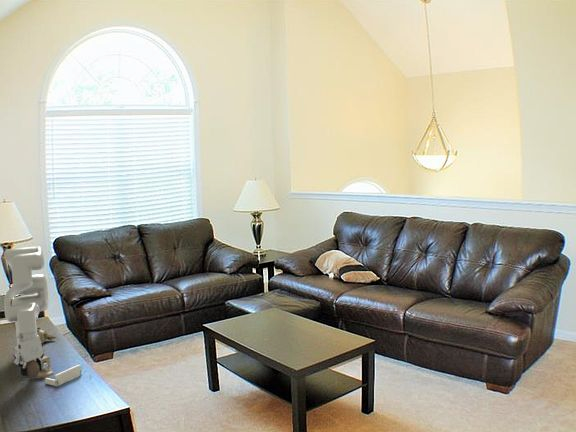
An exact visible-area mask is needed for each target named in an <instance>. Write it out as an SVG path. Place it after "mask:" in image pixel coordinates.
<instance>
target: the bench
mask: <svg viewBox="0 0 576 432" xmlns="http://www.w3.org/2000/svg"><path fill="white" fill-rule="evenodd" d="M34 360H35V361H36V359H34ZM41 363H48V364H49V369H48V371H46V372H44V371H42V370H40V371H39V374H38V376H37V377H36V378H35V379H37V378H41V379H45V378H47V377H48V376H51V375H53V374H54V371H51V370H52V369H51V361H50V356H45V355H44V356H43V358H42V361H41Z"/></svg>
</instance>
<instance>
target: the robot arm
mask: <svg viewBox="0 0 576 432" xmlns="http://www.w3.org/2000/svg"><path fill="white" fill-rule="evenodd" d="M3 254H4V255H3V256H4V260H5V262H6V263H7V264H8V266H9V268H10V271H11V278H12V286H10V288H9V289H8V291H7V292H6V294H5V296H4V301H3V304H4V305H3V307H4V316H5V317H4V318H5V319H6V321H7V322H9V323H15V332H16V342H17V345H16V346H15V347H14V350H16V351H17V352H16V353H14V356H15V360H13V364H15V365H16V366H17V367H18V368H20V375H21V376H23V377H25V376H27V368H25V366H26V363H27V362H29V361H32V360H36V362H37V363H38V365H39V368H40V370H41V363H42V362H41V361H42V358H43V357H44V356H45V353H46V349H44V348H43V343H42V344H41V340H40V337H39V335H37V328H38V327H37V318H38V316H39V314H40V312H45V311H47V310H48V309H49V303H50V302H49V300H50V299H49V291H48V290H49V289H48V280H47V278H46V276H45V274H43V273H37V274H32V271H39V270H43V269H44V267H45V256H44V251H43V249H42V247H40V246H28V247H27V246H26V247H25V246H24V247H15V248H8V249H6V250H5V251H4V253H3ZM18 295H19V296H18ZM23 362H24V363H23ZM22 364H23V365H22Z"/></svg>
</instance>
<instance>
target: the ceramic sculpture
mask: <svg viewBox="0 0 576 432" xmlns="http://www.w3.org/2000/svg"><path fill="white" fill-rule="evenodd" d="M37 335H39V337H40V340H41V344H42V345H43V344H44V342H46V341H47V340H48V341H51V340H54V339H57V336H54V335H53V334H51V333H48V331H47V330H45V329H42V328H41V327H37Z"/></svg>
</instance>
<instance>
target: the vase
mask: <svg viewBox="0 0 576 432" xmlns="http://www.w3.org/2000/svg"><path fill="white" fill-rule="evenodd" d="M35 360H36V359H34V360H32V361H29V362H27V363H26V366H25V368H27V376H24V378H26V379H28V380H32V379H37V378H36V377H37V376H38V374H39V371H40V368H39V365H38V363H37V362H36V361H35Z"/></svg>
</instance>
